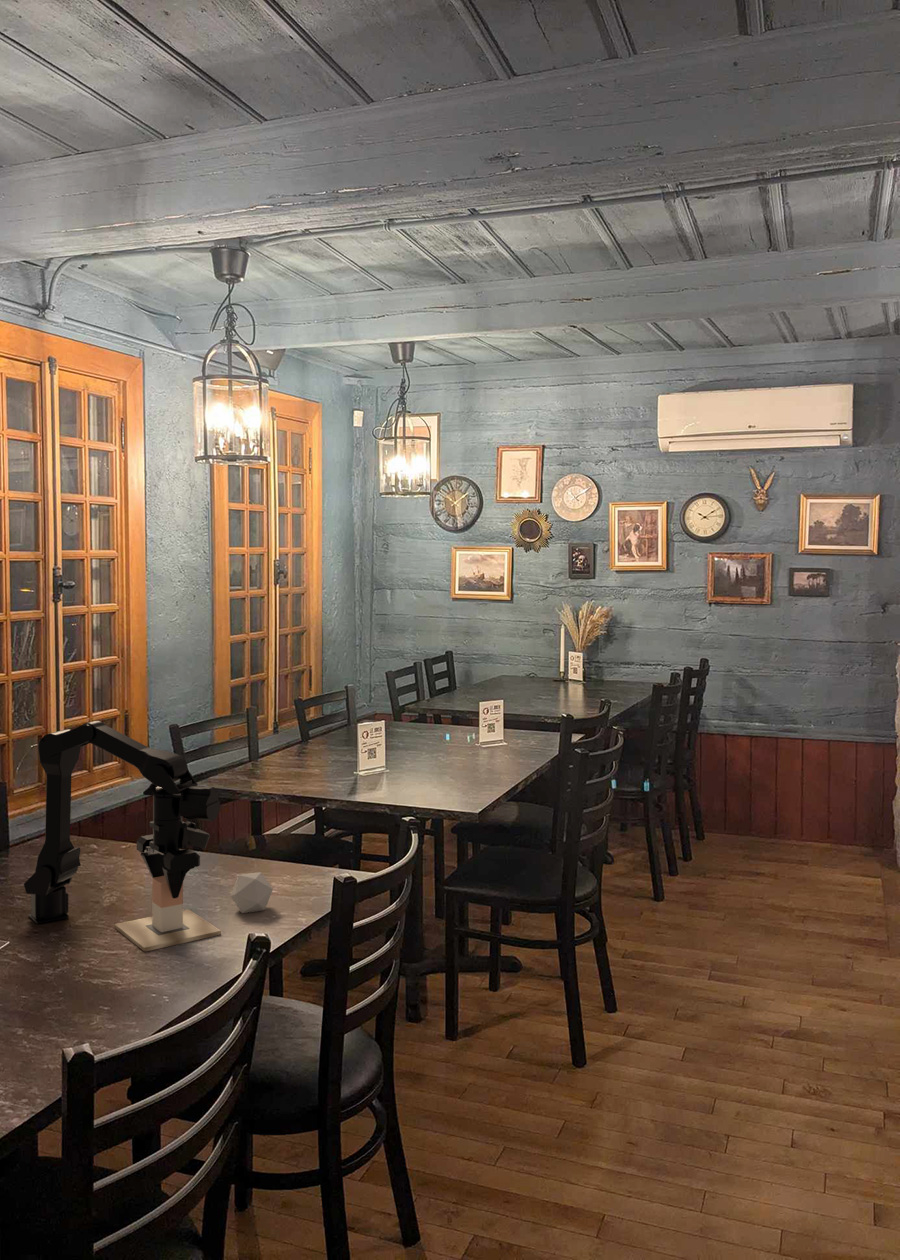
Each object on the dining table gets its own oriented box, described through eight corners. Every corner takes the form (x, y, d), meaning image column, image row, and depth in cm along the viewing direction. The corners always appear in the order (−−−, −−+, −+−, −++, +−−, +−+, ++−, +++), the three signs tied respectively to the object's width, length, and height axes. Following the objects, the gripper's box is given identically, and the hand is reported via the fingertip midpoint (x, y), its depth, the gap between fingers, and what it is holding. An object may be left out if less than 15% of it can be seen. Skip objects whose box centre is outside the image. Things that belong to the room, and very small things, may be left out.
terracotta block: (161, 908, 203) (161, 883, 203) (152, 901, 206) (152, 877, 206) (183, 903, 206) (183, 879, 205) (174, 897, 209) (174, 873, 209)
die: (267, 904, 226) (241, 869, 226) (286, 893, 220) (260, 858, 220) (242, 926, 220) (216, 891, 220) (262, 916, 214) (235, 880, 214)
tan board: (144, 951, 195) (144, 947, 195) (114, 927, 208) (114, 923, 208) (220, 934, 205) (220, 930, 205) (188, 912, 218) (188, 908, 218)
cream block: (161, 932, 203) (161, 908, 203) (152, 925, 207) (152, 901, 206) (182, 927, 206) (182, 903, 206) (173, 921, 210) (173, 897, 209)
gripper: (224, 821, 203) (224, 897, 204) (186, 803, 217) (185, 874, 218) (171, 829, 196) (171, 908, 197) (135, 810, 210) (135, 883, 211)
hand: (167, 892), depth 206 cm, fingers open, 8 cm apart
